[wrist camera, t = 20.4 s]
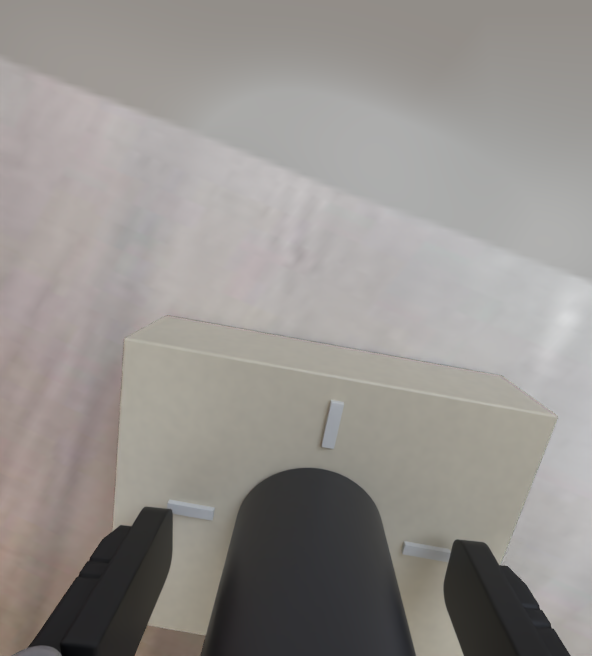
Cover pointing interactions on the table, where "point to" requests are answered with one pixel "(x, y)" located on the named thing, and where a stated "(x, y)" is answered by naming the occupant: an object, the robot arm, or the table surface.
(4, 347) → the table surface
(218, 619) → the valve knob
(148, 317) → the table surface
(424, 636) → the panel
